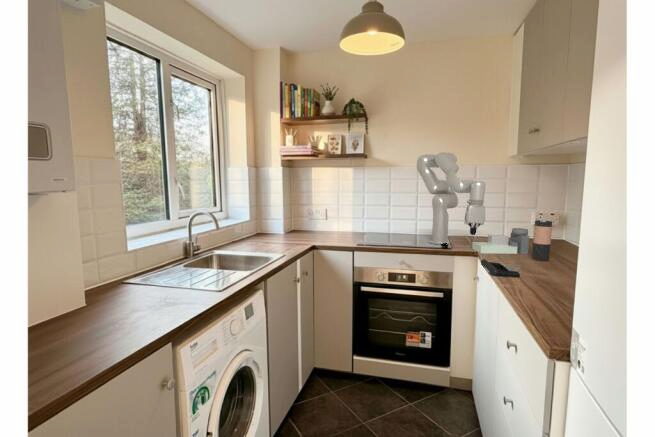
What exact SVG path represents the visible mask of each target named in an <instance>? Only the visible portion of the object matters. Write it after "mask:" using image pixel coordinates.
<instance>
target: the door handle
mask: <svg viewBox="0 0 655 437" xmlns="http://www.w3.org/2000/svg"><path fill="white" fill-rule="evenodd" d="M480 264H481V265H482V266H483V269H484V270H485V271H486V272H487V273H489V274H491V275H492V276H495V277H496V276H500V277H508V276H511V277H510V278H519V277H520V276H521V274H520V272H519V271H520V268H521V267H520V266H516V265H515V266H514V265H506V264H502V263H500V262H492V261H489V260H487V259H485V258H483V259H481V260H480ZM517 270H519V271H517Z"/></svg>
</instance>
